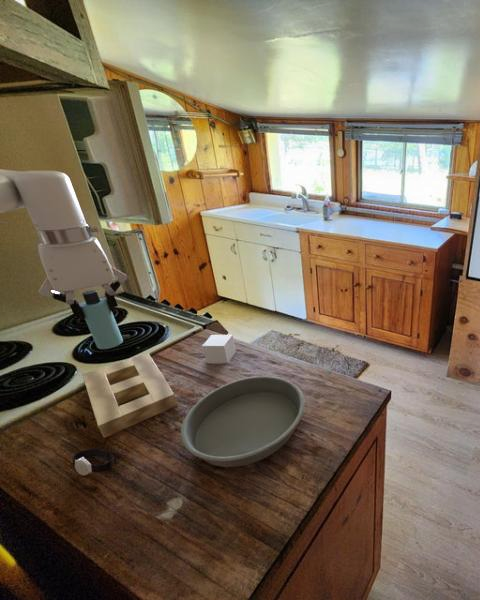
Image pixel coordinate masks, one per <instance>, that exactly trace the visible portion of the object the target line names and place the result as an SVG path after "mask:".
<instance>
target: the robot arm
mask: <svg viewBox="0 0 480 600" xmlns="http://www.w3.org/2000/svg"><path fill="white" fill-rule="evenodd" d="M20 209H26V211H27V213H28V215H29V217H30V219H31V221H32V224H33V226H34V229H35V232H36V233H37V235H38V238H39V240H40V242H41V243H37V250H38V254H39V255H38V256H39V259H40V262H41V265H42V267H43V270H44V272H45V274H46V277H45V279H44V281H43V283H42V284H41V286H40V287H39V289H38V291H37V292H38V295H39V296H40V297H45V298H49V299H54V300H57V301H59V302H62V303H64V304H67V305H69V308H70V309H71V312H72V314H73V316H74V317H79V319H80V321H84V320H85V317H84V315H83V313H82V311H81V308H80V306H79V305H80V303H79V301H78V300H77V299H76V297H75V291H77V290H84V289H88V288H93V287H98V286H100V287H102V289H103V290H104V296H105V297H104V298H106V299H107V301H108V303H109V306H110V308H111V311H112V313H115V312H117V310H116V307H119V305H118V302H117V299H116V297H115V294H116V292H117V290H118V289H119V288H120V287H121V285H122V284H123V283H124V282H125V281H126V280H128V277H129V276H128V275H127V274H126V273H124V272H122V271H121V270H119V269H117V268H116V267H114V266H112V265H111V264H110V261H109V259H108V257H107V254H106V252H105V250H104V249H103V247H102V245H101V243H100V241H99V240H98V238H97V237H96V236H93V235H95V234H98V233H100V230H99V228H98V226H92V225H89V224H87V221H86V219H85V215H84V213H83V211H82V208H81V206H80V203H79V199H78V198H77V195H76V192H75V190H74V187H73V185H72V181H71V179H70V178H69V176H68V175H67V174H65V172H62V171H58V170H24V171H23V170H22V171H21V170H11V169H2V168H0V214H3V213H8V212H11V211H16V210H20ZM115 277H116V278H115ZM51 289H53V290H51Z"/></svg>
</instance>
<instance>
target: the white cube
mask: <svg viewBox="0 0 480 600" xmlns="http://www.w3.org/2000/svg"><path fill="white" fill-rule="evenodd" d="M201 348H202V352H203V355H204V360H205V363H206V364H229V363H230V361H231V360H232V359H233V357H234V355H235V354H236V352H237V350H236V345H235V340H234V335H233V334H211V335H210V336H209V337H208V338H207V339H206V341H205V342H204V343H203V344H202V345H201Z"/></svg>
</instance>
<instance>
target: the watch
mask: <svg viewBox="0 0 480 600" xmlns="http://www.w3.org/2000/svg"><path fill="white" fill-rule="evenodd" d="M91 457H92V458H93V457H98V458H99V457H100V458H104V459H106V460H109V461H108V462H106V463H102V464H97V465H96V464H95V465H94V464H92V463H90V461H89V460H88V459H86V458H91ZM71 458H72V464H73V466H74V468H75V470H76V472H77V473H78V474H79V475H81V476H86V475H88V474H92V473H104V472H106V471H109V470H110V469H112V467H113V466H114V464H115V461H114V455H113V453H112V452H111V451H109V450H107V449H99V448H92V449H91V448H90V449H85V450H81V451H78V452H76V453H75V454H73V455H72V457H71Z"/></svg>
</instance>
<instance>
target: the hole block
mask: <svg viewBox="0 0 480 600" xmlns="http://www.w3.org/2000/svg"><path fill="white" fill-rule="evenodd" d="M82 379H83V381H84V385H85V388H86V391H87V395H88V398H89V401H90V404H91V408H92V412H93V415H94V418H95V422H96V425H97V428H98V430H99V431H100V434H101V436H102V438H103V439H105V438H107V437H109V436H111V435H114V434H116V433H118V432H120V431H123V430H125V429H127V428H130V427H132V426H134V425H137V424H139V423H141V422H144V421H146V420H148V419H150V418H152V417H155V416H157V415H159V414H161V413H164V412H166V411H168V410H172V409H173V408H175V407H178V406H179V404H178V402H177V401H178V400H177V398H176V395H175V393H174V391H173V390H172V388H171V386H170V385H169V383H168V382H167V380H166V378H165V377H164V375H163V374H162V372H161V371H160V369H159V367H158V366H157V364H156V363H155V361H154V360H153V358H152V356H151V355H150V353H149V352H147V353H144V354H141V355H137V356H135V357H132V358H129V359H125V360H123V361H120V362H117V363H114V364H113V363H112V364H110V365H106V366H104V367H101V368H98V369H96V370H92V371H88V372H86V373H83V374H82Z"/></svg>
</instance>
